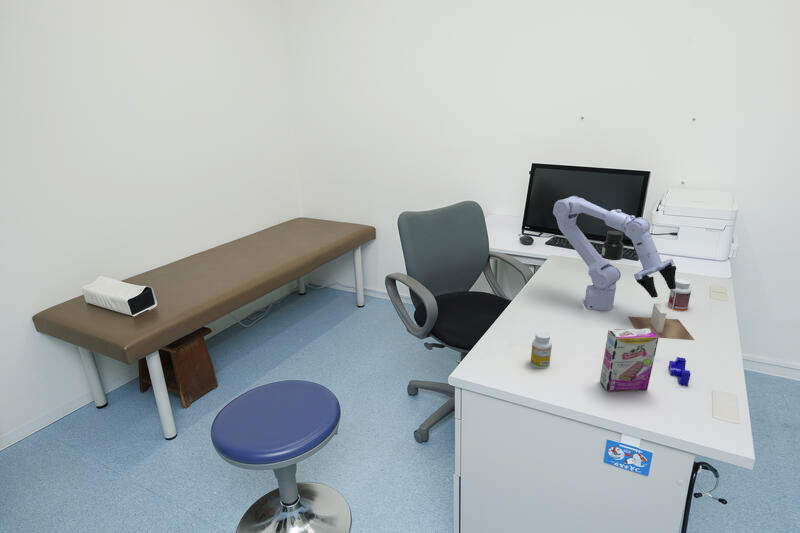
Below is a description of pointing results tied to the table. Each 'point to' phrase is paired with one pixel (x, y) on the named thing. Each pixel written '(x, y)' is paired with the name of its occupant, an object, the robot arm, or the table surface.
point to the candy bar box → (628, 359)
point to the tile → (658, 318)
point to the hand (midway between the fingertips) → (663, 293)
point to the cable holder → (679, 371)
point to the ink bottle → (613, 245)
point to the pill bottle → (680, 295)
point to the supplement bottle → (541, 350)
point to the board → (670, 330)
